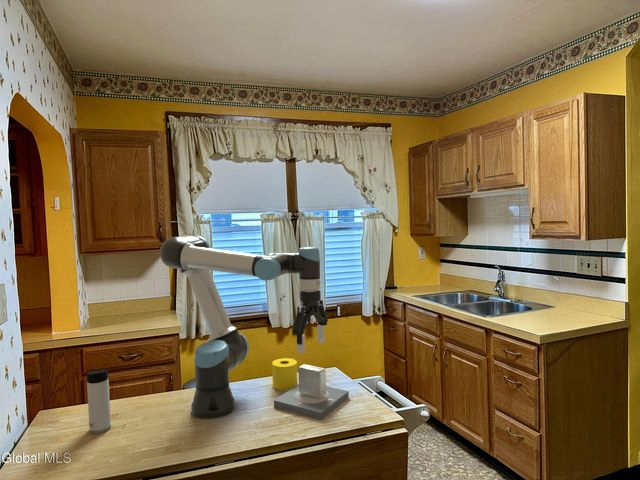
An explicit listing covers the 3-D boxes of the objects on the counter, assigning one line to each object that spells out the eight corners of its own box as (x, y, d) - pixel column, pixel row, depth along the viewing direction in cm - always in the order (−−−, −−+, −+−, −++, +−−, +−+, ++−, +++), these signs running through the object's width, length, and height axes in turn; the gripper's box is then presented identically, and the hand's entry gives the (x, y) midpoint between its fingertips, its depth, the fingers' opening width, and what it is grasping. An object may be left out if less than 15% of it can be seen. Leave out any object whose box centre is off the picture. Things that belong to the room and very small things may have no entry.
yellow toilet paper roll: (302, 384, 177) (302, 361, 176) (285, 392, 169) (285, 368, 168) (284, 378, 183) (283, 356, 182) (267, 386, 175) (267, 363, 174)
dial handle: (299, 393, 160) (298, 367, 159) (304, 390, 163) (303, 364, 163) (320, 398, 155) (320, 371, 155) (326, 395, 158) (325, 368, 158)
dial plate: (273, 406, 156) (273, 399, 156) (304, 387, 173) (304, 380, 173) (321, 420, 146) (321, 412, 146) (348, 397, 163) (348, 390, 163)
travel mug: (89, 436, 138) (86, 375, 136) (89, 427, 143) (86, 368, 142) (111, 431, 140) (108, 371, 139) (110, 422, 146) (107, 365, 145)
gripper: (299, 297, 144) (301, 359, 145) (335, 285, 165) (337, 339, 167) (281, 295, 148) (283, 355, 149) (319, 283, 169) (320, 337, 171)
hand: (311, 347), depth 158 cm, fingers open, 13 cm apart
